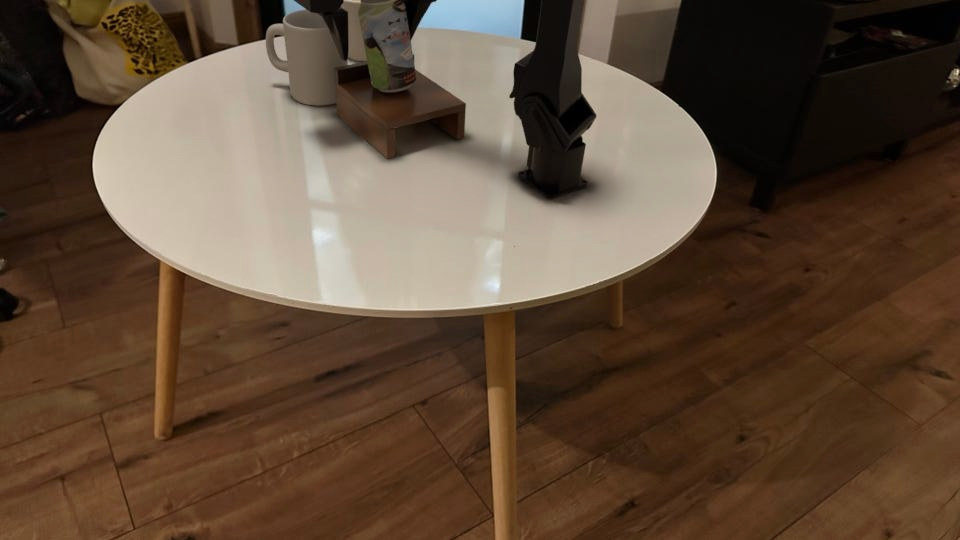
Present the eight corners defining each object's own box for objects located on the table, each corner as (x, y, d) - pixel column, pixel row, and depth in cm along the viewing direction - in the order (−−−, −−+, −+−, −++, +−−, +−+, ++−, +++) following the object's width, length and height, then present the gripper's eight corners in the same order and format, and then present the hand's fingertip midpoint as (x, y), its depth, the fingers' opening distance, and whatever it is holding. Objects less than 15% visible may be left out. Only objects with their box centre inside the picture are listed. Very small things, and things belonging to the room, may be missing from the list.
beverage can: (409, 100, 91) (408, 6, 83) (355, 93, 92) (349, 0, 84) (421, 82, 96) (421, -8, 88) (370, 75, 97) (366, -15, 89)
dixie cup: (372, 42, 120) (370, -19, 114) (399, 58, 115) (399, -4, 109) (329, 51, 115) (325, -11, 109) (356, 68, 110) (353, 4, 104)
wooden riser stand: (464, 137, 94) (466, 88, 90) (387, 159, 89) (386, 108, 84) (410, 98, 103) (410, 52, 99) (337, 115, 97) (333, 67, 93)
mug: (358, 86, 105) (354, 13, 98) (336, 110, 99) (330, 33, 92) (285, 74, 107) (276, 1, 100) (258, 96, 100) (247, 20, 94)
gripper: (404, -98, 90) (404, 23, 99) (265, -88, 80) (280, 45, 90) (452, -79, 83) (448, 49, 92) (306, -65, 74) (318, 76, 83)
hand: (374, 53), depth 90 cm, fingers open, 8 cm apart
